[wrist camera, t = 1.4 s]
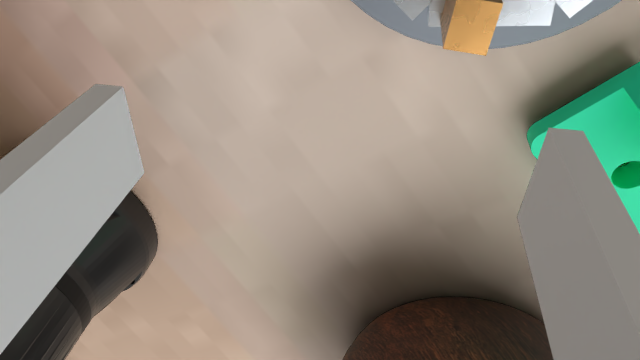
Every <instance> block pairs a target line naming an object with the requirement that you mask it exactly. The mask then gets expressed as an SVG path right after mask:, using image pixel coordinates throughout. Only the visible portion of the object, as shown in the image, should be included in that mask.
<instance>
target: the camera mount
mask: <svg viewBox="0 0 640 360" xmlns="http://www.w3.org/2000/svg"><path fill="white" fill-rule="evenodd" d="M548 128H558V129H568V130H579V131H584V133H585V135H586V137H587V139H588V141H589V142H590V144H591V146H592V148H593V150H594V152H595V153H596V155H597V157H598V159H599V161H600V162H601V164H602V166H603V168H604V170H605V172H606V173H607V175H608V177H609V179H610V181H611V183H612V184H613V186H614V188H615V190H616V192H617V194H618V195H619V197H620V199H621V201H622V203H623V204H624V206H625V208H626V210H627V212H628V214H629V215H630V217H631V219H632V221H633V223H634V225H635V226H636V228H637V230H638V232H639V234H640V62H638V63H637V64H635V65H633V66H632V67H630V68H628V69H626V70H625V71H623V72H621V73H620V74H618V75H616V76H614V77H613V78H611V79H609V80H608V81H606V82H604V83H602V84H601V85H599V86H597V87H596V88H594V89H592V90H590V91H589V92H587V93H585V94H584V95H582V96H580V97H578V98H577V99H575V100H573V101H572V102H570V103H568V104H566V105H565V106H563V107H561V108H560V109H558V110H556V111H554V112H553V113H551V114H549V115H548V116H546V117H544V118H542V119H541V120H539V121H537V122H536V123H534V124H533V125H532V126H531V127H530V128H529V130H528V132H527V140H528V143H529V145H530V148H531V151H532V153H533V155H534V156H535V157H536V159H538V156H539V154H540V151H541V148H542V145H543V142H544V139H545V137H546V134H547V131H548ZM626 162H629V163H628V164H626V165H624V166H621V167H618V166H620V165H621V164H623V163H626Z"/></svg>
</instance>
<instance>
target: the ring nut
mask: <svg viewBox="0 0 640 360" xmlns="http://www.w3.org/2000/svg"><path fill="white" fill-rule="evenodd" d="M393 1H394V2H395V3H396V4H397V5H398V6H399V7H400V8H401V10H402V11H403V12H404V13H405V14H406V15H407V16H408V17H409V18H410V19H411V20H412V21H413V20H414V19H415V18H416V17H417V16H418V15H419V14H420V13H421V12H422V11H423V10H424V9H425V8H426V7H427V6H428V13H427V14H428V27H441V34H442V42H443V49H448V50H454V51H460V52H466V53H472V54H479V55H485V56H486V54H487V51H488V48H489V45H490V42H491V39H492V36H493V33H494V30H495V27H496V26H549V25H550V24H551V20H552V15H553V11H554V6H555V1H556V3H557V4H558V5H559V6H560V7H561V9H562V10H563V11H564V12H565V13H566V15H567V16H568V17H569V18H571V17H572V16H573V15H574V14H576V13H577V12H578V11H580V10H581V9H582V8H583V7H585V6H586V5H587V4H589V3H590V2H591V1H592V0H393Z"/></svg>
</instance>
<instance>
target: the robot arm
mask: <svg viewBox="0 0 640 360" xmlns="http://www.w3.org/2000/svg"><path fill="white" fill-rule="evenodd" d="M143 174H144V169H143V165H142V161H141V157H140V153H139V149H138V145H137V141H136V137H135V133H134V129H133V124H132V120H131V116H130V112H129V108H128V104H127V100H126V96H125V92H124V88H123V87H122V86H112V85H101V84H95V85H94V86H93V87H91V88H90V89H89V90H87V91H86V92H85V93H84V94H82V95H81V96H80V97H79V98H77V99H76V100H75V101H74V102H72V103H71V104H70V105H69V106H67V107H66V108H65V109H64V110H62V111H61V112H60V113H59V114H57V115H56V116H55V117H53V118H52V119H51V120H50V121H48V122H47V123H46V124H45V125H43V126H42V127H41V128H40V129H38V130H37V131H36V132H35V133H33V134H32V135H31V136H30V137H28V138H27V139H26V140H25V141H23V142H22V143H21V144H19V145H18V146H17V147H16V148H14V149H13V150H12V151H11V152H9V153H8V154H7V155H6V156H4V157H3V158H2V159H1V160H0V360H65V359H66V357H67V356H68V354H69V353H70V351H71V350H72V348H73V346H74V345H75V343H76V342H77V340H78V339H79V337H80V336H81V334H82V333H83V331H84V330H85V328H86V327H87V325H88V324H89V322H90V321H91V319H92V318H93V317H94V316H95V315H96V314H98V313H99V312H100V311H101V310H103V309H104V308H105V307H106V306H107V305H108V304H110V303H111V302H112V301H113V300H114V299H115V298H116V297H117V296H118V295H119V294H120V293H121V292H122V291H125V290H127V289H129V288H130V287H132V286H133V285H134V284H135V283H137V282H138V281H139V280H140V279H141V278H142V276H143V275H144V274H145V272H146V270H147V269H148V267H149V265H150V264H151V262H152V261H153V259H154V257H155V255H156V252H157V246H158V239H157V233H156V229H155V226H154V224H153V221H152V219H151V217H150V216H149V214H148V212H147V211H146V209H145V208H144V206H143V205H142V204H141V202H140V201H139V200H138V199H137V198H136V197H135V196H134V195H133V194H132V193H131V192H130V190H131V189H132V188H133V186H134V185H135V184H136V183H137V181H138V180H139V179H140V178H141V176H142V175H143ZM517 219H518V223H519V227H520V231H521V234H522V238H523V242H524V246H525V250H526V254H527V258H528V262H529V266H530V270H531V274H532V277H533V281H534V285H535V289H536V293H537V297H538V301H539V305H540V309H541V313H542V316H543V320H544V324H545V328H546V332H547V336H548V340H549V344H550V348H551V352H552V356H553V359H554V360H640V234H639V232H638V230H637V228H636V226H635V225H634V223H633V221H632V219H631V217H630V215H629V214H628V212H627V210H626V208H625V206H624V204H623V203H622V201H621V199H620V197H619V195H618V194H617V192H616V190H615V188H614V186H613V184H612V183H611V181H610V179H609V177H608V175H607V173H606V172H605V170H604V168H603V166H602V164H601V162H600V161H599V159H598V157H597V155H596V153H595V152H594V150H593V148H592V146H591V144H590V142H589V141H588V139H587V137H586V135H585V133H584V131H579V130H568V129H558V128H548V131H547V134H546V137H545V139H544V142H543V145H542V148H541V151H540V154H539V156H538V159H537V162H536V165H535V168H534V170H533V173H532V176H531V179H530V182H529V185H528V187H527V190H526V193H525V196H524V199H523V201H522V204H521V207H520V210H519V213H518V216H517Z"/></svg>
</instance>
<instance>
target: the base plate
mask: <svg viewBox="0 0 640 360" xmlns="http://www.w3.org/2000/svg"><path fill="white" fill-rule="evenodd" d="M351 1H352V2H354V3H355V4H356V5H357V6H358V7H359V8H360V9H362V10H363V11H364V12H365V13H366V14H368V15H369V16H371V17H372V18H374V19H376V20H377V21H379V22H380V23H382V24H383V25H385V26H386V27H388V28H391V29H393V30H395V31H397V32H399V33H401V34H403V35H405V36H407V37H410V38H413V39H417V40H420V41H423V42H426V43H429V44H434V45H439V46H443V42H442V34H441V27H428V14H427V13H428V6H427V7H426V8H425V9H424V10H423V11H422V12H421V13H420V14H419V15H418V16H417V17H416V18H415V19H414V20H413V21H412V20H411V19H410V18H409V17H408V16H407V15H406V14H405V13H404V12H403V11H402V10H401V8H400V7H399V6H398V5H397V4H396V3H395V2H394V1H393V0H351ZM620 1H621V0H592V1H591V2H590V3H589V4H587V5H586V6H585V7H583V8H582V9H581V10H580V11H578V12H577V13H576V14H574V15H573V16H572V17H571V18H569V17H568V16H567V15H566V13H565V12H564V11H563V10H562V9H561V7H560V6H559V5H558V4H557V3H556V1H555V6H554V11H553V15H552V20H551V24H550V25H549V26H496V27H495V30H494V33H493V36H492V39H491V42H490V45H489V48H488V49H493V48H505V47H510V46H515V45H521V44H526V43H531V42H534V41H537V40H540V39H544V38H547V37H550V36H554V35H556V34H559V33H561V32H564V31H566V30H568V29H571V28H573V27H575V26H578V25H580V24H582V23H584V22H586V21H588V20H590V19H592V18H593V17H595V16H597V15H599V14H601V13H603V12H604V11H606V10H608V9H610V8H611V7H613V6H614V5H616V4H617V3H619V2H620Z"/></svg>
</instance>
